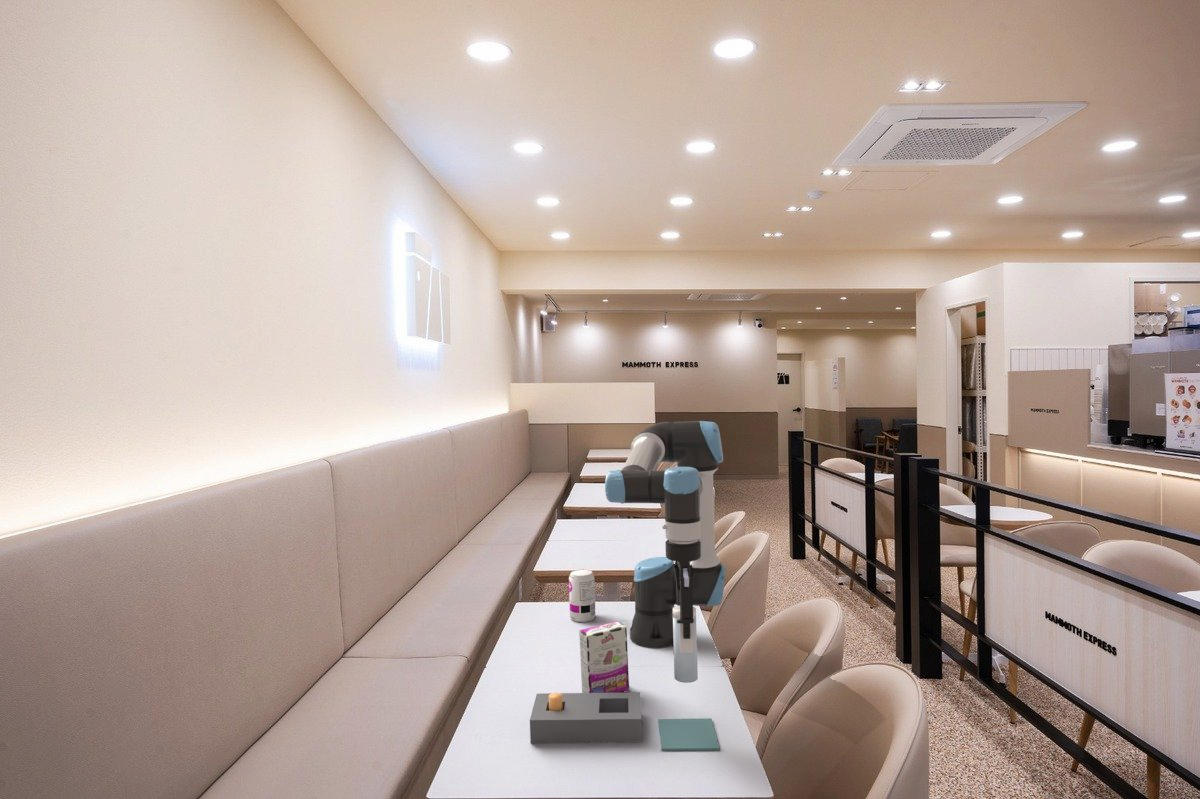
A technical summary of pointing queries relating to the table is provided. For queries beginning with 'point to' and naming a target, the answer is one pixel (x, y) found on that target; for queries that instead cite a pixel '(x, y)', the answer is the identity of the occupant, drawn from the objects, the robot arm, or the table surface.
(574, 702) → the housing
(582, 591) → the supplement can
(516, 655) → the table surface
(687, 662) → the cylinder
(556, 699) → the plunger
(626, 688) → the candy bar box
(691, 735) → the mat
